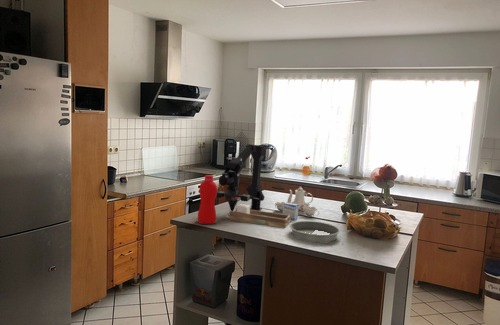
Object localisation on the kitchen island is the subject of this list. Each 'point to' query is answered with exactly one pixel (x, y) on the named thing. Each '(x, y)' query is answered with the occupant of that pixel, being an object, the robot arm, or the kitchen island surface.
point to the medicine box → (291, 210)
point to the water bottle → (207, 201)
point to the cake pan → (310, 228)
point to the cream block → (243, 208)
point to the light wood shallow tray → (262, 218)
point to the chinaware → (299, 203)
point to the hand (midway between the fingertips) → (232, 211)
